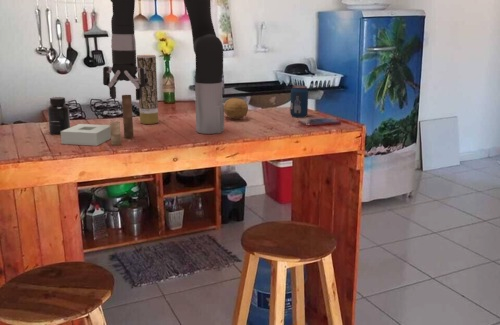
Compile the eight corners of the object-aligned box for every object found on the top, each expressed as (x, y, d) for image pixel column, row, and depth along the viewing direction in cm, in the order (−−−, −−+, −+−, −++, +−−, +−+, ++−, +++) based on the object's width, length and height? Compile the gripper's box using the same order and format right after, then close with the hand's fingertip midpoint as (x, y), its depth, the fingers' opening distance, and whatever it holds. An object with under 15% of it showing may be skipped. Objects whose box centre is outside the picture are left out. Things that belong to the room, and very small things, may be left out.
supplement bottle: (51, 135, 177) (47, 100, 174) (48, 131, 183) (45, 97, 180) (72, 133, 180) (69, 98, 177) (69, 129, 186) (66, 95, 183)
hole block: (113, 137, 175) (112, 125, 174) (97, 145, 164) (96, 133, 162) (80, 135, 177) (79, 123, 176) (61, 143, 166) (60, 131, 165)
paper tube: (154, 125, 194) (151, 56, 187) (137, 124, 195) (133, 55, 189) (161, 121, 201) (158, 54, 194) (144, 120, 202) (141, 54, 195)
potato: (242, 114, 215) (242, 95, 213) (252, 121, 202) (253, 100, 200) (219, 116, 212) (218, 96, 210) (228, 122, 199) (228, 101, 197)
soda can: (303, 114, 216) (304, 85, 213) (309, 117, 210) (311, 87, 207) (287, 115, 215) (288, 85, 211) (293, 118, 208) (294, 88, 205)
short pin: (122, 143, 167) (121, 121, 165) (118, 145, 164) (117, 123, 162) (113, 142, 167) (112, 121, 165) (109, 145, 164) (108, 123, 162)
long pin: (134, 136, 176) (132, 94, 172) (131, 138, 173) (128, 96, 169) (126, 136, 177) (124, 94, 173) (122, 138, 174) (120, 95, 170)
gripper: (149, 48, 170) (150, 98, 174) (108, 47, 172) (110, 96, 176) (140, 50, 162) (142, 102, 167) (97, 48, 165) (100, 99, 169)
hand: (125, 99), depth 172 cm, fingers open, 8 cm apart
